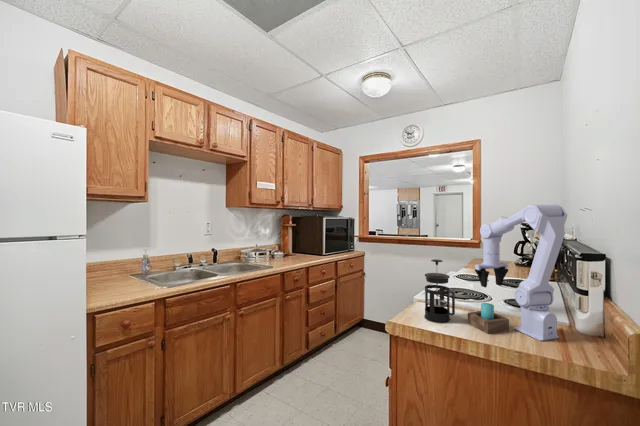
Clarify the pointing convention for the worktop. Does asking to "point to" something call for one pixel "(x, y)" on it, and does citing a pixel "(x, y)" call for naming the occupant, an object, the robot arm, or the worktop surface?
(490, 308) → the peg
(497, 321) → the socket block
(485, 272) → the robot arm
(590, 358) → the worktop surface
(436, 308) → the french press
